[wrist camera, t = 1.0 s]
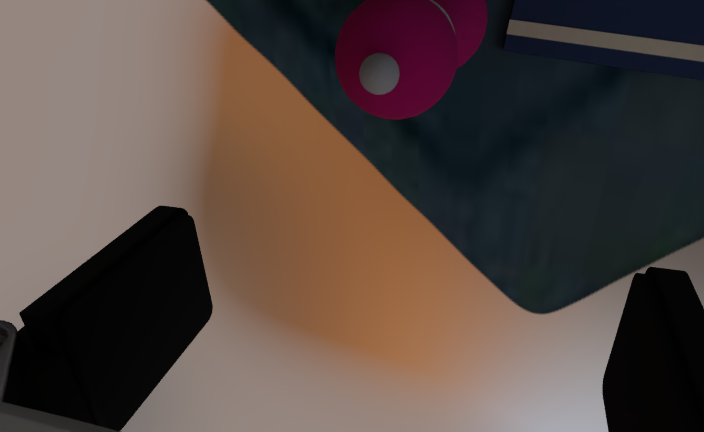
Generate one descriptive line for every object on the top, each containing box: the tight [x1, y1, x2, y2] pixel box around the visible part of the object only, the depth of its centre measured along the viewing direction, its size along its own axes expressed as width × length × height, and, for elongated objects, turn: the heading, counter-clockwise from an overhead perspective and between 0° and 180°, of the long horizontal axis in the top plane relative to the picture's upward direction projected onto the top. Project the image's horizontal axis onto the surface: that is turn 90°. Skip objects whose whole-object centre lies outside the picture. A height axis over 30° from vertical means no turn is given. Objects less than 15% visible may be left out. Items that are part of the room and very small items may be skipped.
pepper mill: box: [335, 0, 488, 119], centre depth 30 cm, size 7×7×20 cm
